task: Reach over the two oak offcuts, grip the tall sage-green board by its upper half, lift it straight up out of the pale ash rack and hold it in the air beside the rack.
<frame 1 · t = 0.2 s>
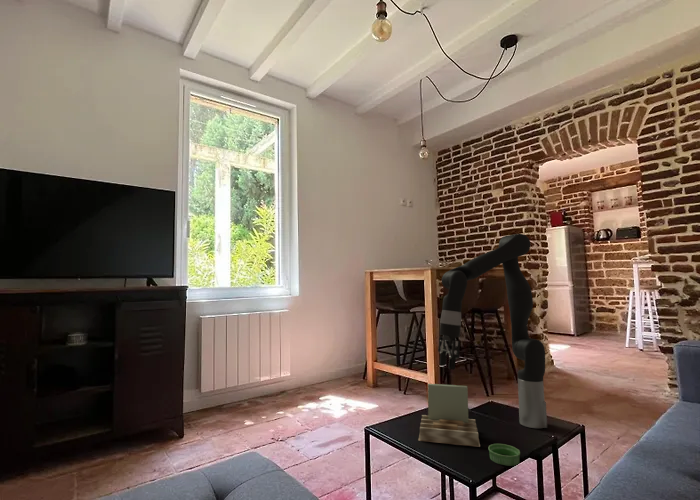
hand: (447, 367, 139), 24 cm above the table, tool pointing down, fingers open, 8 cm apart
rack: (448, 440, 131), on the table
sage board: (448, 431, 135), point 1 cm above the table, touching rack
offcut middle: (451, 435, 131), point 1 cm above the table, touching rack
ramekin: (504, 465, 113), on the table
offcut front: (445, 439, 127), point 1 cm above the table, touching rack
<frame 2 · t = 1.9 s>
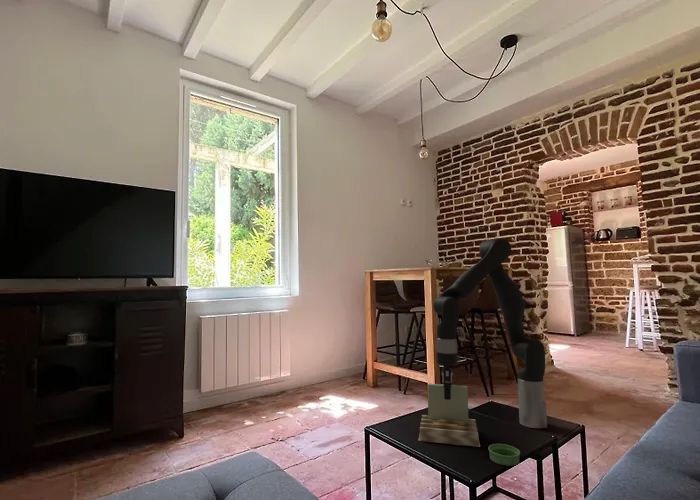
hand: (447, 396, 136), 14 cm above the table, tool pointing down, fingers open, 8 cm apart
nothing on the table moved.
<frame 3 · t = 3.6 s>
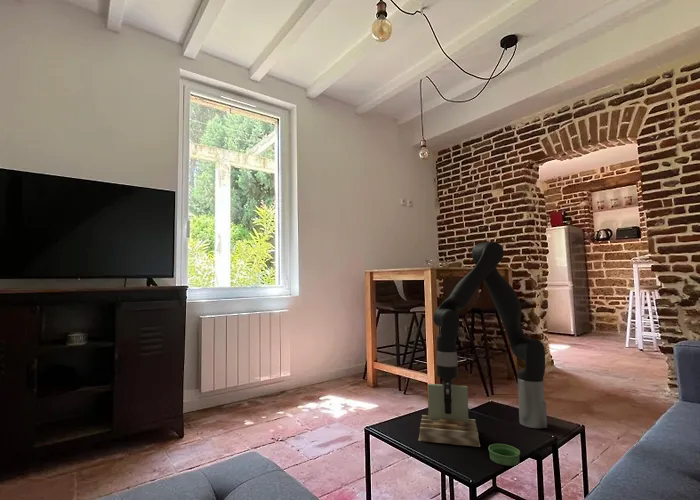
hand: (448, 412, 136), 8 cm above the table, tool pointing down, fingers closed on sage board, 2 cm apart
sage board: (448, 431, 135), point 2 cm above the table, touching gripper
everything else where it was.
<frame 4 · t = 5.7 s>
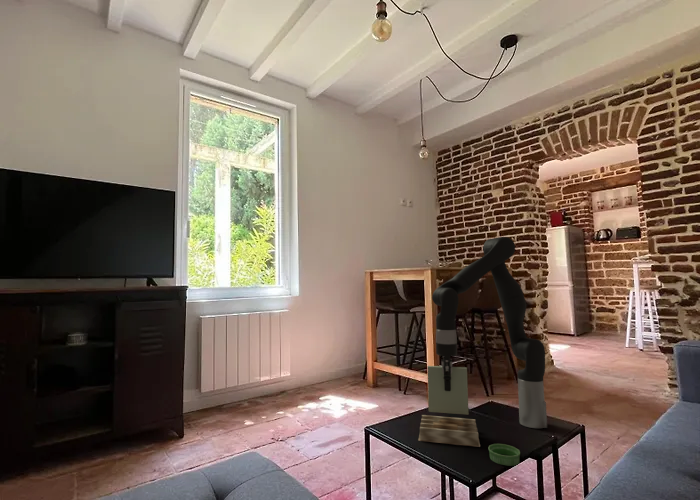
hand: (447, 389, 137), 16 cm above the table, tool pointing down, fingers closed on sage board
sage board: (448, 412, 136), point 8 cm above the table, touching gripper
everything else where it was.
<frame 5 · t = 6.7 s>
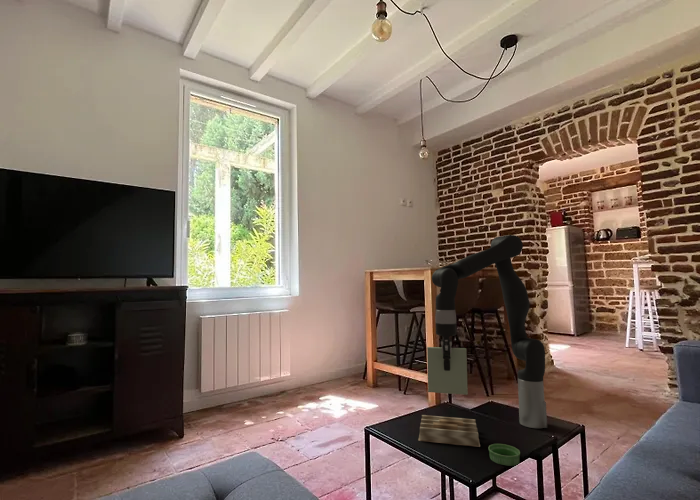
hand: (447, 369, 138), 23 cm above the table, tool pointing down, fingers closed on sage board
sage board: (447, 392, 137), point 15 cm above the table, touching gripper
everything else where it was.
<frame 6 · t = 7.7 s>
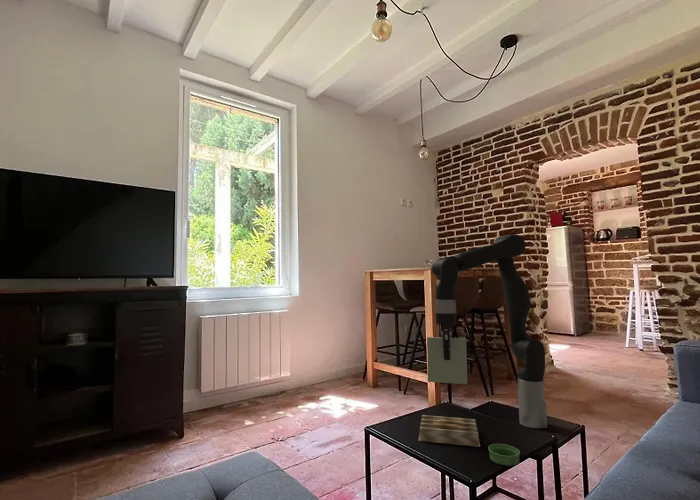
hand: (446, 359, 138), 27 cm above the table, tool pointing down, fingers closed on sage board
sage board: (447, 382, 137), point 19 cm above the table, touching gripper
everything else where it was.
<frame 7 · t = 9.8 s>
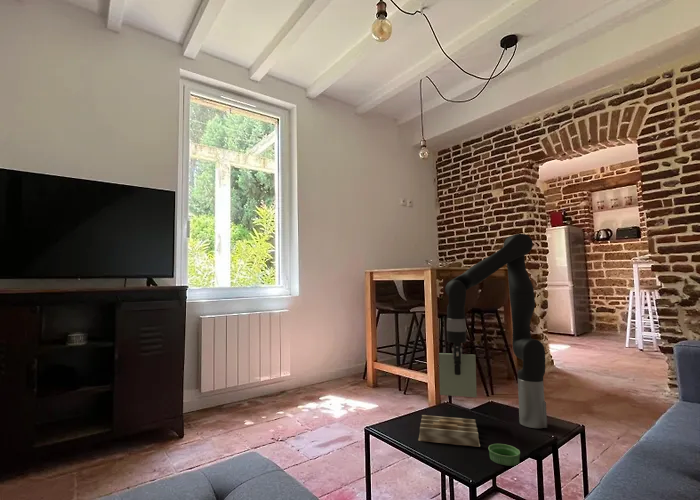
hand: (457, 373, 149), 19 cm above the table, tool pointing down, fingers closed on sage board
sage board: (458, 395, 148), point 11 cm above the table, touching gripper
everything else where it was.
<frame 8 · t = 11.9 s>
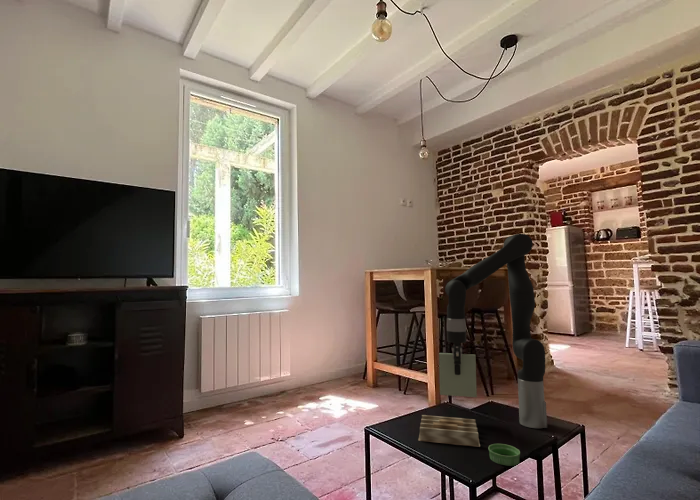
hand: (457, 373, 149), 19 cm above the table, tool pointing down, fingers closed on sage board
sage board: (458, 395, 148), point 11 cm above the table, touching gripper
everything else where it was.
at the end: the gripper is holding sage board; sage board inside the target area (1.0 cm from its centre), point 10.7 cm above the table; offcut front moved 0.0 cm from its start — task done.
